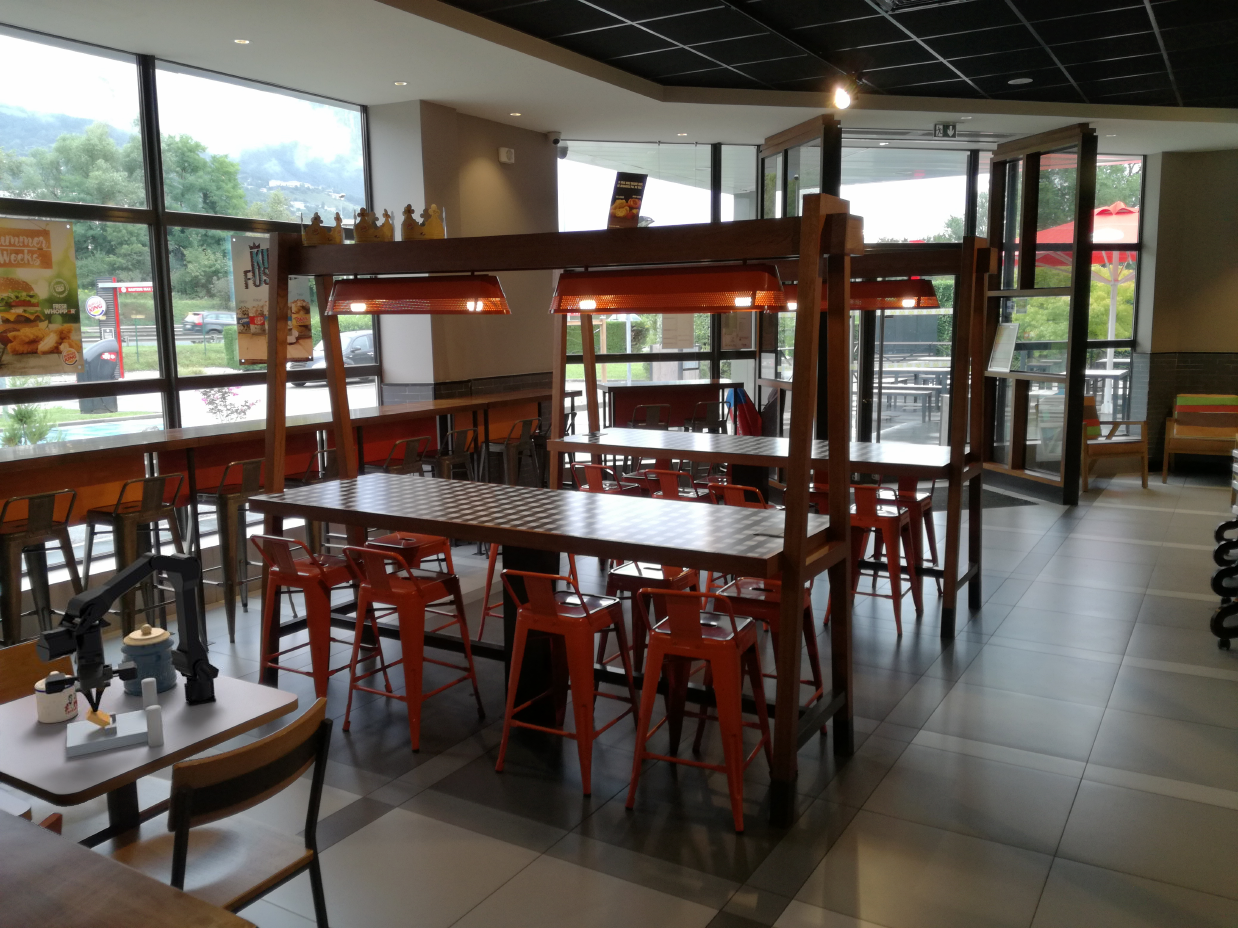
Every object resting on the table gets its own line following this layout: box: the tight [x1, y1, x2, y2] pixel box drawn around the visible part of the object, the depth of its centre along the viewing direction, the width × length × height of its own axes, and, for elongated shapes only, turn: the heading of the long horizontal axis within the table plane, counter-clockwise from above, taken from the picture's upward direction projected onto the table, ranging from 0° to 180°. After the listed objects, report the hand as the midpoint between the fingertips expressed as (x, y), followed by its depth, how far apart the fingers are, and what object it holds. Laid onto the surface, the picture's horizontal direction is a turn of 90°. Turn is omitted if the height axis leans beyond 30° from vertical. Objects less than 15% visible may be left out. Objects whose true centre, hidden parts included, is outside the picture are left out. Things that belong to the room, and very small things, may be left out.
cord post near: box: [146, 704, 165, 748], centre depth 214 cm, size 3×3×9 cm
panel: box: [66, 709, 148, 758], centre depth 218 cm, size 18×14×4 cm
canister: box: [120, 623, 178, 696], centre depth 246 cm, size 13×13×18 cm
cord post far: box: [141, 678, 159, 710], centre depth 230 cm, size 3×3×9 cm
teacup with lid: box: [33, 670, 79, 724], centre depth 230 cm, size 12×9×12 cm
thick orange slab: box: [86, 706, 110, 728], centre depth 216 cm, size 2×5×5 cm
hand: (95, 711), depth 216 cm, fingers closed
